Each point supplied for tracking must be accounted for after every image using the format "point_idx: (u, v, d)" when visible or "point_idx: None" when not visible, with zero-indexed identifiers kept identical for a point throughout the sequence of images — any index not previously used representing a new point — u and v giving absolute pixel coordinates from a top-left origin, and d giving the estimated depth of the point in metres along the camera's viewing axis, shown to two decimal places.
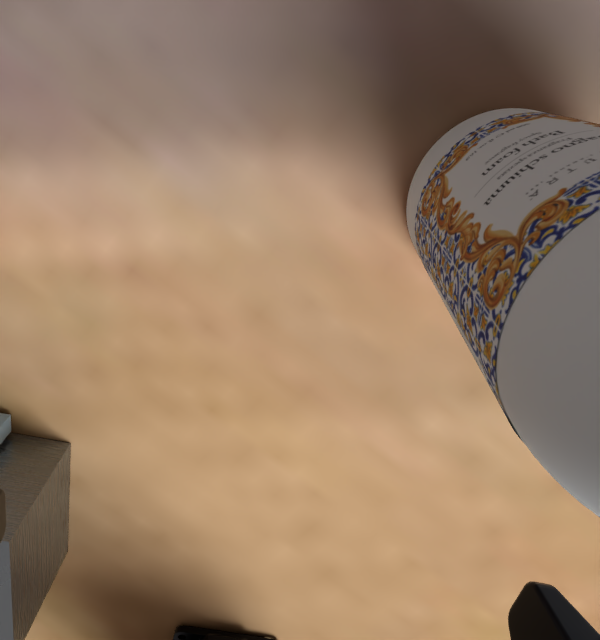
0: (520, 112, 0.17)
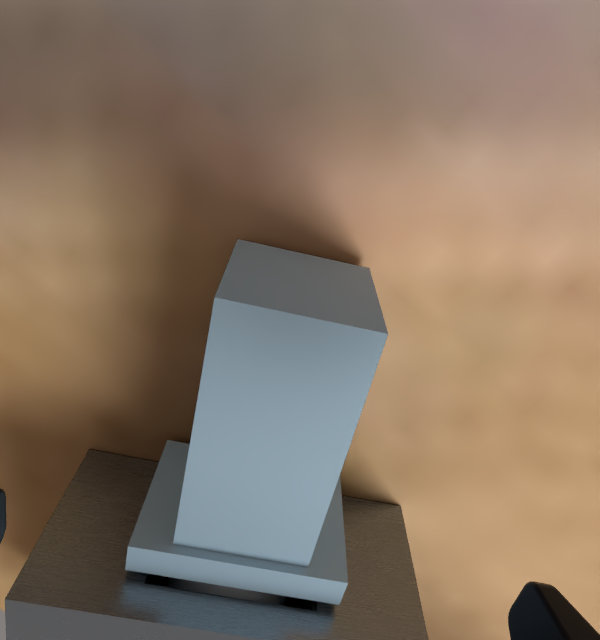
0: None
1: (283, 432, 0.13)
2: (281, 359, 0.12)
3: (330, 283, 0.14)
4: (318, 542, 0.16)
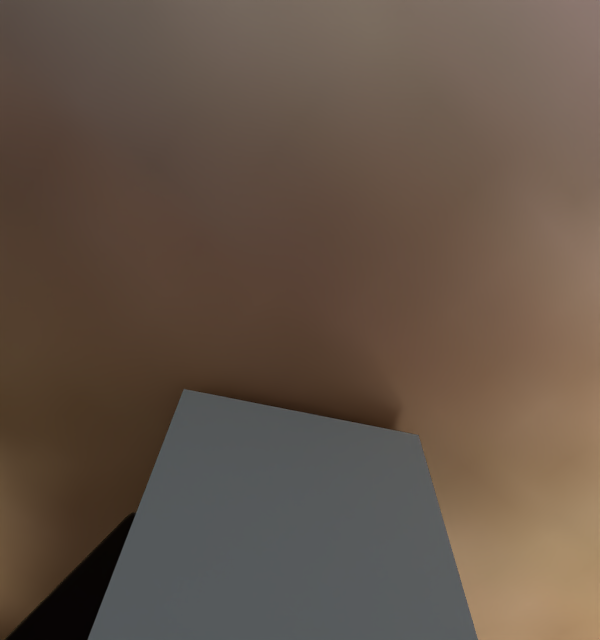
0: None
1: None
2: None
3: (355, 505, 0.07)
4: None
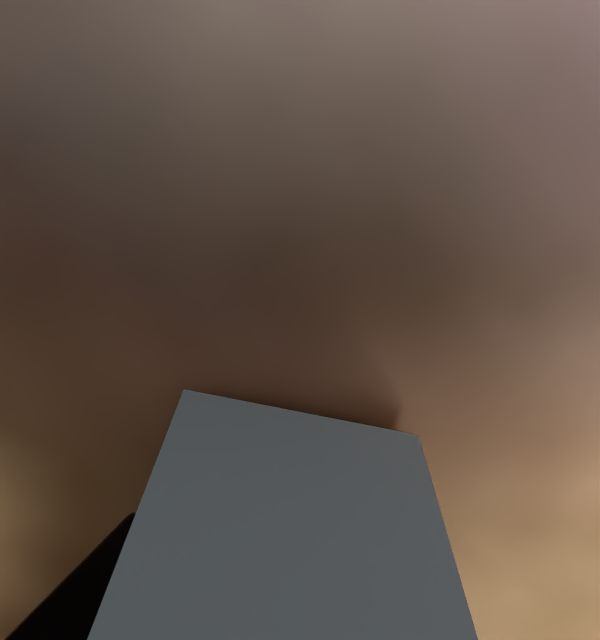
0: None
1: None
2: None
3: (355, 505, 0.07)
4: None
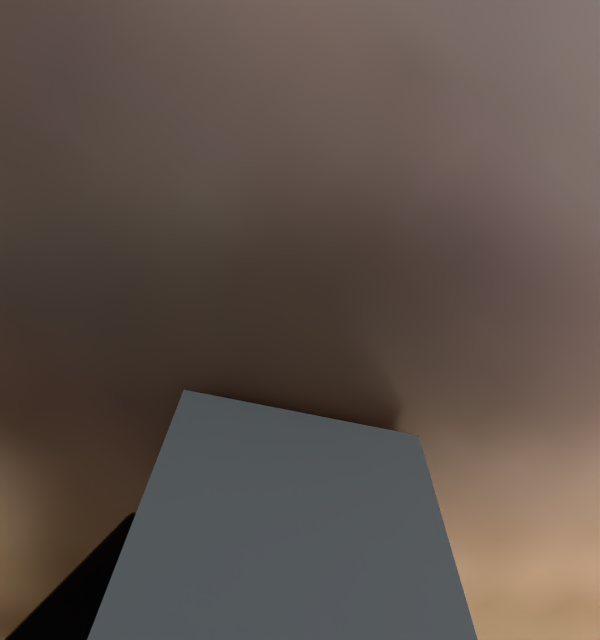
0: None
1: None
2: None
3: (355, 504, 0.07)
4: None
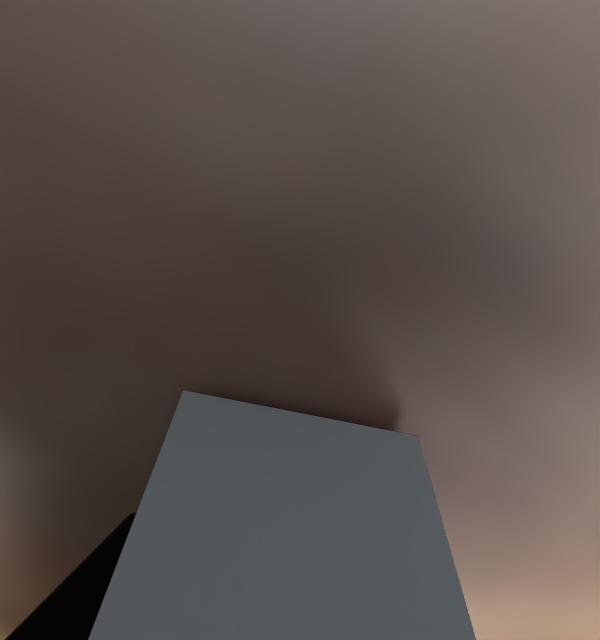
0: None
1: None
2: None
3: (354, 507, 0.07)
4: None
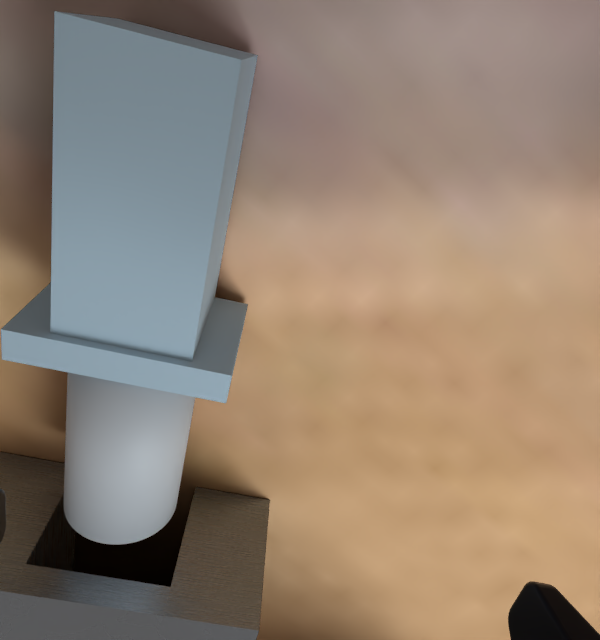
0: None
1: (147, 189, 0.13)
2: (134, 93, 0.12)
3: (203, 44, 0.13)
4: (209, 346, 0.16)
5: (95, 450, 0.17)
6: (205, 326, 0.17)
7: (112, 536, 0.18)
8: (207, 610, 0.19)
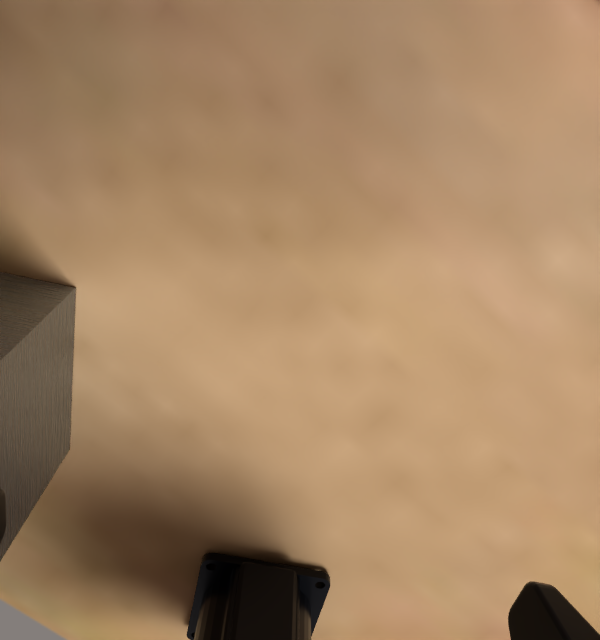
0: None
1: None
2: None
3: None
4: None
5: None
6: None
7: None
8: None
